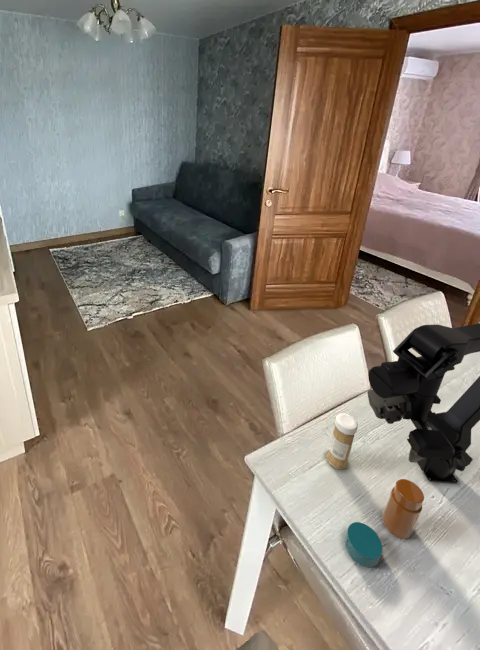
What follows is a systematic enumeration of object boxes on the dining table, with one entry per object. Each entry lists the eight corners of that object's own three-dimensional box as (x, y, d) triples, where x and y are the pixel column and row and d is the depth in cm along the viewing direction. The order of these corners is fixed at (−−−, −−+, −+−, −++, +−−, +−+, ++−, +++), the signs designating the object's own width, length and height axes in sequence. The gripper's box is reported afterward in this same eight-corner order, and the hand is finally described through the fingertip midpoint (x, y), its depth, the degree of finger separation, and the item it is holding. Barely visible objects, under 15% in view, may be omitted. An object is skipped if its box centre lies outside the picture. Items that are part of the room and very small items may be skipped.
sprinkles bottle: (350, 463, 83) (362, 423, 78) (339, 473, 81) (350, 432, 76) (333, 448, 87) (343, 409, 82) (322, 458, 84) (332, 418, 79)
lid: (350, 565, 65) (353, 556, 64) (340, 528, 70) (342, 520, 69) (384, 569, 64) (388, 560, 63) (371, 532, 70) (374, 523, 69)
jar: (403, 511, 73) (416, 478, 69) (416, 540, 69) (432, 506, 65) (377, 509, 74) (389, 476, 70) (389, 537, 69) (403, 503, 65)
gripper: (359, 352, 78) (345, 404, 84) (402, 422, 61) (381, 481, 66) (410, 355, 77) (393, 407, 83) (469, 427, 60) (442, 486, 66)
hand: (400, 441), depth 74 cm, fingers open, 9 cm apart
